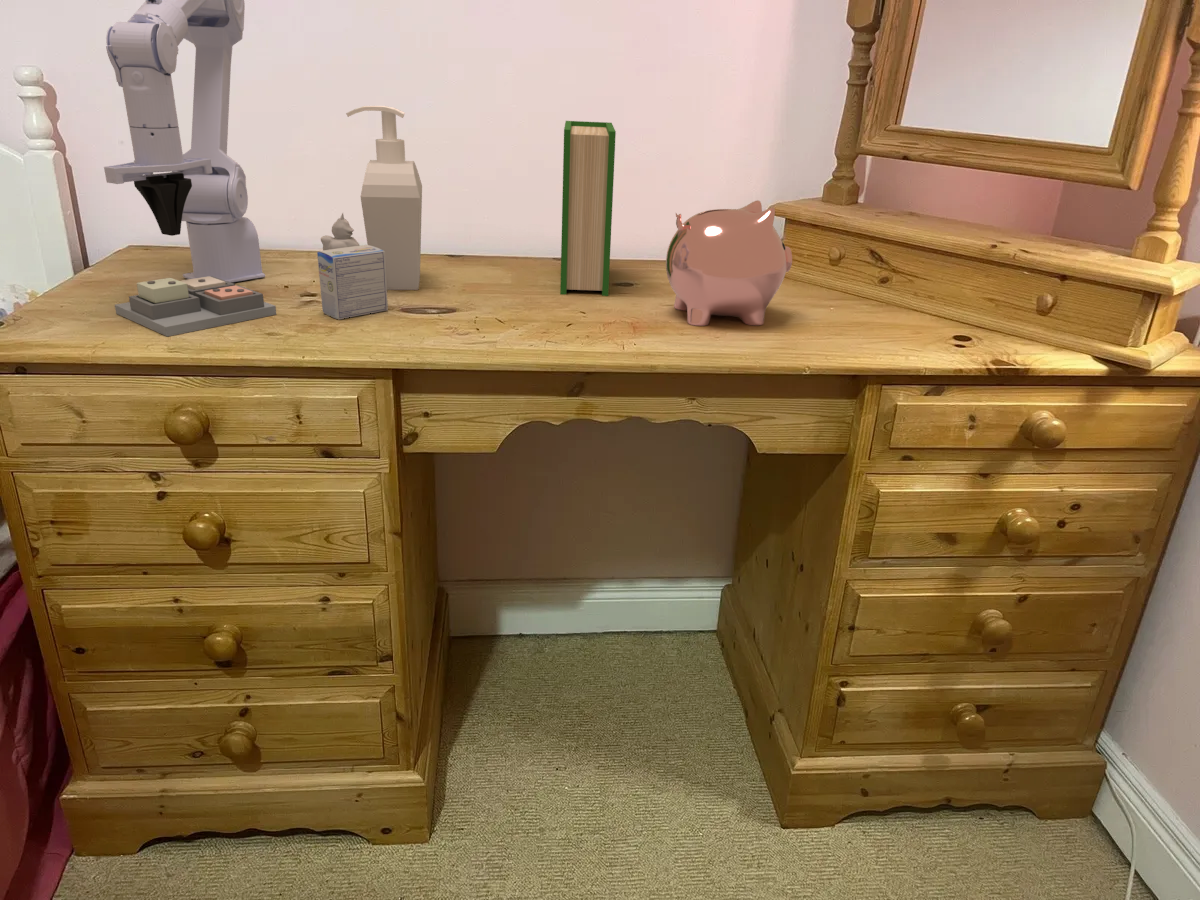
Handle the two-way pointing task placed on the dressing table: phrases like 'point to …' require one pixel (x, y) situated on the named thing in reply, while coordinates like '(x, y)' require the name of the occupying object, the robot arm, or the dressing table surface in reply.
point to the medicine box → (352, 281)
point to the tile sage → (162, 290)
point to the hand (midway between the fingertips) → (171, 234)
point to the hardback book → (587, 205)
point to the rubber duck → (339, 236)
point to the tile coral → (228, 292)
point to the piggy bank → (727, 264)
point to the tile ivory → (203, 282)
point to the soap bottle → (393, 204)
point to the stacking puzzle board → (194, 311)
